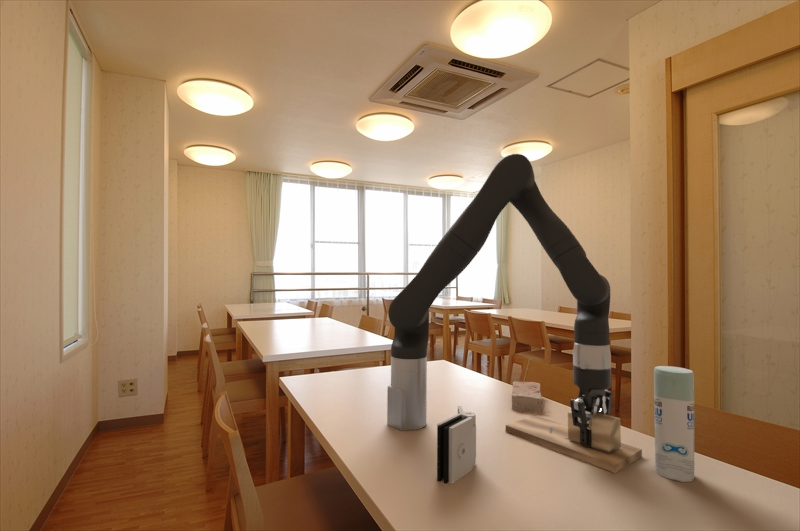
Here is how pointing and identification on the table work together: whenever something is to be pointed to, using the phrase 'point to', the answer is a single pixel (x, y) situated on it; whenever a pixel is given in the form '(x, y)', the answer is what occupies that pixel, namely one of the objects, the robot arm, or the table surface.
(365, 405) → the table surface
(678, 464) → the spray paint can
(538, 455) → the table surface
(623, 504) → the table surface
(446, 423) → the hinge
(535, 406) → the brick
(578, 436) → the block
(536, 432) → the board
